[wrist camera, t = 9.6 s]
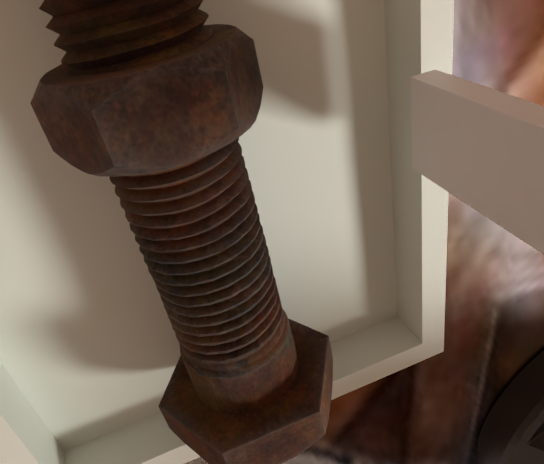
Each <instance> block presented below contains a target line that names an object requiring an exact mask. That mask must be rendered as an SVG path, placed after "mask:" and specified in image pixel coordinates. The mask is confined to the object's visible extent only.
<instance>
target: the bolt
mask: <svg viewBox="0 0 544 464" xmlns="http://www.w3.org/2000/svg"><path fill="white" fill-rule="evenodd" d="M202 2H203V0H44V1H43V3H42V5H41V6H40V8H39V9H40V10H42V11H44V12H46V13H48V14H49V15H51V16H53V17H52V19H51V20H50V22H49V23H48V24H47V26H46V27H45V28H47V29H50V30H52V31H54V32H56V33H58V34H60V35H59V37H58V38H57V40H56V41H55V43H54V46H56V47H58V48H60V49H62V50H64V51H66V54H65V55H64V57H63V58H62V60H61V63H62V64H61V65H59V66H57V67H55V68H54V69H52V70H50V71H48V72H47V73H45V74H44V75H43V77H42V78H41V79H40V81H39V83H38V86H37V88H36V90H35V93H34V95H33V98H32V100H31V103H30V104H31V106H32V108H33V110H34V112H35V115H36V117H37V119H38V121H39V123H40V125H41V127H42V129H43V131H44V133H45V135H46V138H47V140H48V142H49V144H50V146H51V148H52V150H53V152H55V153H56V154H57V155H59V156H60V157H61V158H62V159H64V160H65V161H66V162H68V163H69V164H70V165H72V166H74V167H75V168H77V169H79V170H81V171H83V172H85V173H87V174H91V175H96V176H105V177H109V179H110V181H111V183H113V184H114V185H116V186H115V193H116V195H117V196H118V197H119V198H120V205H121V207H122V208H123V209H124V210H125V217H126V219H127V220H128V222H130V224H129V225H130V230H131V231H132V232H133V233H134V234H135V241H136V242H137V243H138V244H139V245H140V246H139V251H140V252H141V253H142V254H143V255H144V262H145V263H146V265H147V266H148V271H149V273H150V274H151V276H152V278H153V280H154V282H155V284H156V287H157V290H158V292H159V294H160V297H161V300H162V302H163V304H164V308H165V310H166V312H167V315H168V318H169V320H170V322H171V324H172V329H173V330H174V331H175V335H176V338H177V340H178V342H179V344H180V354H181V356H180V358H179V360H178V363H177V365H176V367H175V369H174V372H173V374H172V376H171V379H170V381H169V383H168V385H167V388H166V390H165V392H164V395H163V397H162V399H161V401H160V404H159V406H158V407H159V409H160V411H161V413H162V414H163V416H164V418H165V420H166V422H167V424H168V426H169V428H170V429H171V430H172V431H173V432H174V433H175V434H176V435H177V436H178V437H179V438H180V439H181V440H182V441H183V442H184V443H185V444H186V445H187V446H188V447H190V448H191V449H192V450H193V451H194V452H196V453H197V454H198V455H199V456H200V457H202V458H203V459H204V460H205V461H206V462H208V463H209V464H281V463H283V462H286V461H288V460H290V459H292V458H294V457H295V456H297V455H298V454H300V453H302V452H303V451H305V450H306V449H308V448H309V447H310V446H312V445H313V444H314V443H315V442H317V441H318V440H319V439H320V438H322V437H323V436H324V435H325V433H326V429H327V426H328V422H329V413H330V405H331V397H332V385H333V356H332V350H331V345H330V339H329V336H328V335H326V334H323V333H321V332H319V331H316V330H314V329H312V328H309V327H307V326H305V325H303V324H300V323H298V322H296V321H293V320H291V319H289V318H288V317H287V315H286V312H285V311H284V310H283V308H282V305H281V300H280V296H279V292H278V288H277V284H276V280H275V277H274V275H273V269H272V264H271V259H270V256H269V251H268V247H267V245H266V239H265V236H264V234H263V227H262V225H261V223H260V216H259V214H258V208H257V205H256V203H255V197H254V193H253V191H252V186H251V182H250V180H249V175H248V171H247V169H246V168H245V161H244V157H243V156H242V147H241V145H240V144H239V143H238V141H239V137H240V136H242V135H243V134H244V133H245V132H246V131H247V130H249V129H250V128H251V126H252V125H253V124H254V123H255V121H256V119H257V116H258V112H259V109H260V106H261V100H262V94H263V83H262V78H261V73H260V68H259V63H258V59H257V54H256V49H255V44H254V40H253V39H252V38H251V37H249V36H248V35H247V34H245V33H244V32H243V31H241V30H240V29H239V28H237V27H236V26H232V25H228V24H211V25H204V23H205V22H206V20H207V18H208V17H209V15H208V14H207V13H206V12H204V11H202V10H200V9H198V8H199V7H200V5H201V3H202Z"/></svg>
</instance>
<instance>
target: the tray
mask: <svg viewBox="0 0 544 464" xmlns="http://www.w3.org/2000/svg"><path fill="white" fill-rule="evenodd" d="M43 1H44V0H0V464H185V463H187V462H190V461H192V460H194V459H197V458H199V457H200V456H199V455H198V454H197V453H196V452H194V451H193V450H192V449H191V448H190V447H188V446H187V445H186V444H185V443H184V442H183V441H182V440H181V439H180V438H179V437H178V436H177V435H176V434H175V433H174V432H173V431H172V430H171V429H170V428H169V426H168V424H167V422H166V420H165V418H164V416H163V414H162V413H161V411H160V409H159V407H158V406H159V404H160V401H161V399H162V397H163V395H164V392H165V390H166V388H167V385H168V383H169V381H170V379H171V376H172V374H173V372H174V369H175V367H176V365H177V363H178V360H179V358H180V356H181V354H180V344H179V342H178V340H177V338H176V335H175V331H174V330H173V329H172V324H171V322H170V320H169V318H168V315H167V312H166V310H165V308H164V304H163V302H162V300H161V297H160V294H159V292H158V290H157V287H156V284H155V282H154V280H153V278H152V276H151V274H150V273H149V271H148V266H147V265H146V263H145V262H144V255H143V254H142V253H141V252H140V251H139V246H140V245H139V244H138V243H137V242H136V241H135V234H134V233H133V232H132V231H131V230H130V225H129V224H130V222H128V220H127V219H126V217H125V210H124V209H123V208H122V207H121V205H120V198H119V197H118V196H117V195H116V193H115V186H116V185H114V184H113V183H111V181H110V179H109V177H105V176H96V175H91V174H87V173H85V172H83V171H81V170H79V169H77V168H75V167H74V166H72V165H70V164H69V163H68V162H66V161H65V160H64V159H62V158H61V157H60V156H59V155H57V154H56V153H55V152H53V150H52V148H51V146H50V144H49V142H48V140H47V138H46V135H45V133H44V131H43V129H42V127H41V125H40V123H39V121H38V119H37V117H36V115H35V112H34V110H33V108H32V106H31V104H30V103H31V100H32V98H33V95H34V93H35V90H36V88H37V86H38V83H39V81H40V79H41V78H42V77H43V75H44V74H45V73H47V72H48V71H50V70H52V69H54V68H55V67H57V66H59V65H61V64H62V63H61V60H62V58H63V57H64V55H65V54H66V51H64V50H62V49H60V48H58V47H56V46H54V43H55V41H56V40H57V38H58V37H59V35H60V34H58V33H56V32H54V31H52V30H50V29H47V28H45V27H46V26H47V24H48V23H49V22H50V20H51V19H52V17H53V16H51V15H49V14H48V13H46V12H44V11H42V10H40V9H39V8H40V6H41V5H42V3H43ZM198 9H200V10H202V11H204V12H206V13H207V14H208V15H209V17H208V18H207V20H206V22H205V23H204V25H211V24H228V25H232V26H236V27H237V28H239V29H240V30H241V31H243V32H244V33H245V34H247V35H248V36H249V37H251V38H252V39H253V40H254V44H255V49H256V54H257V59H258V63H259V68H260V73H261V78H262V83H263V94H262V100H261V106H260V109H259V112H258V116H257V119H256V121H255V123H254V124H253V125H252V126H251V128H250V129H249V130H247V131H246V132H245V133H244V134H243V135H242V136H240V137H239V141H238V143H239V144H240V145H241V147H242V156H243V157H244V161H245V168H246V169H247V171H248V175H249V180H250V182H251V186H252V191H253V193H254V197H255V203H256V205H257V208H258V214H259V216H260V223H261V225H262V227H263V234H264V236H265V239H266V245H267V247H268V251H269V256H270V259H271V264H272V269H273V275H274V277H275V280H276V284H277V288H278V292H279V296H280V300H281V305H282V308H283V310H284V311H285V312H286V315H287V317H288V318H289V319H291V320H293V321H296V322H298V323H300V324H303V325H305V326H307V327H309V328H312V329H314V330H316V331H319V332H321V333H323V334H326V335H328V336H329V339H330V345H331V350H332V356H333V385H332V397H331V400H333V399H335V398H337V397H340V396H342V395H344V394H347V393H349V392H351V391H354V390H356V389H358V388H361V387H363V386H365V385H367V384H370V383H372V382H374V381H377V380H379V379H381V378H384V377H386V376H388V375H391V374H393V373H395V372H397V371H400V370H402V369H404V368H407V367H409V366H411V365H414V364H416V363H418V362H421V361H423V360H425V359H427V358H430V357H432V356H434V355H437V354H439V353H441V352H444V325H445V292H446V258H447V225H448V191H446V190H444V189H443V188H441V187H440V186H438V185H437V184H435V183H434V182H432V181H431V180H429V179H428V178H426V177H425V176H423V175H421V174H420V173H418V172H417V171H415V170H414V169H412V134H411V77H412V76H415V75H418V74H422V73H425V72H428V71H432V70H438V71H441V72H444V73H447V74H450V75H452V58H453V25H454V0H203V2H202V3H201V5H200V7H199V8H198Z"/></svg>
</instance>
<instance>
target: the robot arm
mask: <svg viewBox="0 0 544 464" xmlns="http://www.w3.org/2000/svg"><path fill="white" fill-rule="evenodd" d="M411 134H412V169H414V170H415V171H417V172H418V173H420V174H421V175H423V176H425V177H426V178H428V179H429V180H431V181H432V182H434V183H435V184H437V185H438V186H440V187H441V188H443V189H444V190H446V191H448V192H449V193H451V194H452V195H454V196H455V197H457V198H458V199H460V200H461V201H463V202H464V203H466V204H467V205H469V206H471V207H472V208H474V209H475V210H477V211H478V212H480V213H481V214H483V215H484V216H486V217H487V218H489V219H491V220H492V221H494V222H495V223H497V224H498V225H500V226H501V227H503V228H504V229H506V230H507V231H509V232H510V233H512V234H514V235H515V236H517V237H518V238H520V239H521V240H523V241H524V242H526V243H527V244H529V245H530V246H532V247H533V248H535V249H537V250H538V251H540V252H541V253H543V254H544V106H541V105H538V104H536V103H533V102H530V101H527V100H524V99H521V98H518V97H515V96H512V95H509V94H506V93H503V92H500V91H497V90H494V89H491V88H488V87H485V86H483V85H480V84H477V83H474V82H471V81H468V80H465V79H462V78H459V77H456V76H453V75H450V74H447V73H444V72H441V71H438V70H432V71H428V72H425V73H422V74H418V75H415V76H412V77H411ZM477 459H478V463H479V464H544V350H543V351H542V352H541V353H540V354H539V355H538V356H536V357H535V358H534V359H533V360H532V361H531V362H530V363H529V364H528V365H527V366H526V367H525V368H524V369H523V370H522V371H521V372H520V373H519V374H518V375H517V376H516V377H515V378H514V379H513V381H512V382H511V383H510V384H509V385H508V387H507V388H506V389H505V390H504V392H503V393H502V394H501V396H500V397H499V398H498V400H497V401H496V403H495V404H494V406H493V408H492V409H491V411H490V413H489V414H488V416H487V418H486V420H485V422H484V424H483V427H482V429H481V432H480V435H479V439H478V444H477Z"/></svg>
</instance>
